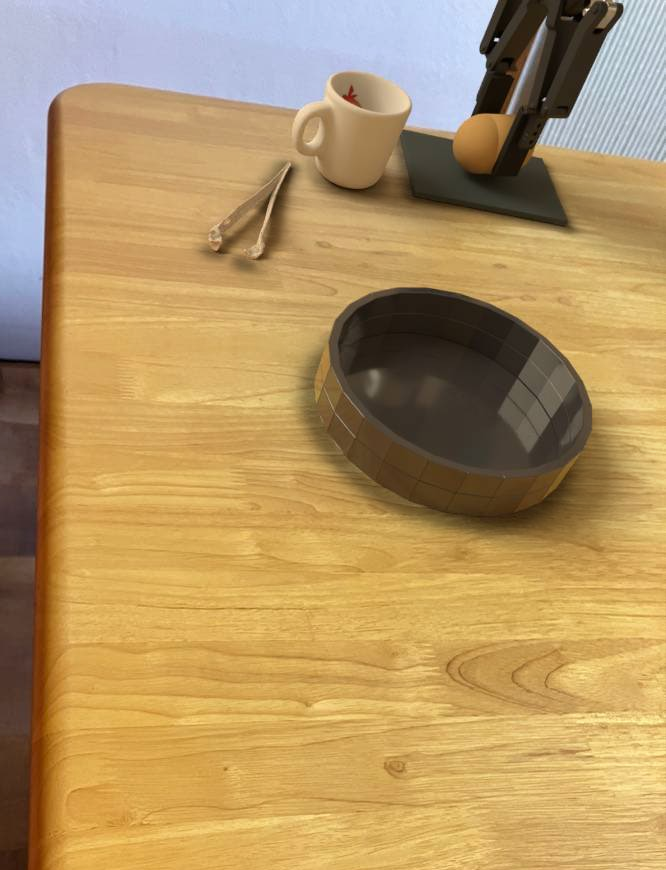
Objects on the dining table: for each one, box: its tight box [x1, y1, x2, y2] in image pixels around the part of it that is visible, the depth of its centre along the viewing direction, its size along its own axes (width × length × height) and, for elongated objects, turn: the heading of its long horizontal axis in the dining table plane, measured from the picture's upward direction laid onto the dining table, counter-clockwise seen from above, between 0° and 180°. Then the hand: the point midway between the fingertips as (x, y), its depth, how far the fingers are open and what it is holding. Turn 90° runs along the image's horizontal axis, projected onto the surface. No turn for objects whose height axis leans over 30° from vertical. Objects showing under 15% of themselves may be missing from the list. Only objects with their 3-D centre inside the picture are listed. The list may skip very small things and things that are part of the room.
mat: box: [399, 128, 569, 227], centre depth 90 cm, size 16×12×1 cm
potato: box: [453, 113, 536, 174], centre depth 87 cm, size 9×5×5 cm, turn 111°
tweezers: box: [208, 161, 292, 260], centre depth 78 cm, size 17×5×2 cm, turn 162°
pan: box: [313, 286, 593, 517], centre depth 64 cm, size 19×19×4 cm
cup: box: [291, 70, 413, 190], centre depth 81 cm, size 11×8×8 cm
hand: (489, 156), depth 88 cm, fingers closed on potato, 5 cm apart
